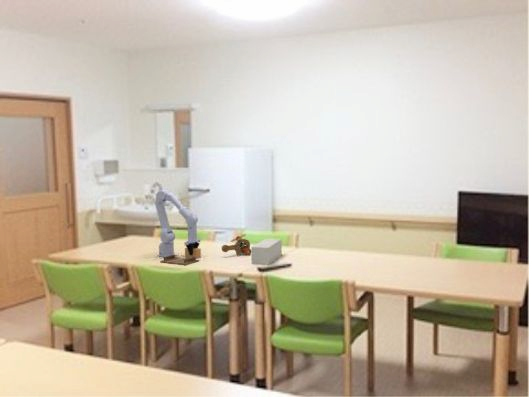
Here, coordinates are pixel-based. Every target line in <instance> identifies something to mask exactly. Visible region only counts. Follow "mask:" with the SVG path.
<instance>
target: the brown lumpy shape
mask: <svg viewBox="0 0 529 397" xmlns="http://www.w3.org/2000/svg"><path fill="white" fill-rule="evenodd" d="M245 236H246V234H242V235H237V236H236V237H235V238H233V239H231V240H230V243H233V242H235V241H236V242H235V244H231V245H228V244H223V245H222V246H221V251H222V252H223V253H228V252H229V251H235V254H236V256H238V257H239V256H240V255H246V256H250V255H252V252H251V249H252V248H250V247H251V243H250V241H249V240H248V239H247V238H243V237H245Z"/></svg>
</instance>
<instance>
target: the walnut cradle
mask: <svg viewBox="0 0 529 397" xmlns="http://www.w3.org/2000/svg"><path fill="white" fill-rule="evenodd" d="M175 255H176V254H175ZM175 255H170V256H167V257H163V260H160V261H159V263H162V264H169V265H178V266H185V267H186V266H189V265H191V264H194V263H198V262H200V259H196V257H192V258H188V257H184V258H183V257H177V256H175Z"/></svg>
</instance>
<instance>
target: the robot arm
mask: <svg viewBox="0 0 529 397" xmlns="http://www.w3.org/2000/svg"><path fill="white" fill-rule="evenodd" d="M166 202H171V204H173V206H175V207H176V208H177V209H178V212H179V214H180V215H181V216H182V217H183V218H184V220H185V223H186V224H187V240H185V242H184V246H185V248H187V249H188V252H189V255H193V248H199V247H200V243H201V238H198V234H197V233H198V231H197V229H198V228H197V227H198V226H197V222H199V218H198V216H197V215H196V214H194V213H193V212H192V211H191V210H190V209H189V207H188V206H184V205H183V204H182V203H181V202H180V201H179V199H178V198H177V197H176V196H175V194H174V192H172V190H171V189H169V188H166V189H160V190H158V191H157V192H156V194H155V201H154V206H155V208H156V212H157V217H158V219H159V224H160V228H161V230H160V243H159V244H158V257H162V258H164V257H167V256H170V255H175V257H177V256H178V254H175V248H174V247H175V245H174V243H175V242H174V241H175V240H176V235H175V233H174V231H173V229H172V228H171V227H170V223H169V218H168V214H167V211H166V208H165V204H166Z"/></svg>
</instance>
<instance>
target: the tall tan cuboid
mask: <svg viewBox="0 0 529 397" xmlns="http://www.w3.org/2000/svg"><path fill="white" fill-rule="evenodd" d="M201 250H202V249H201V248H200V247H198V248H193V255H189V252H188V249H187V247H185V248H184V258H187V259H188V258H192V257H196V260H199V259H200V258H201V256H202V253H201V252H202V251H201Z"/></svg>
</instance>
